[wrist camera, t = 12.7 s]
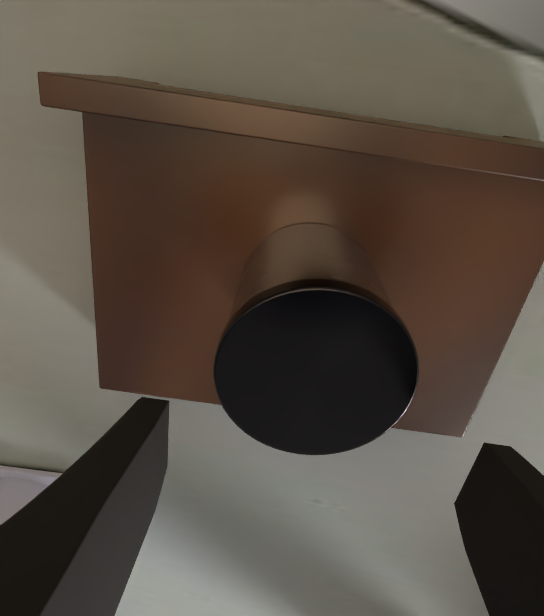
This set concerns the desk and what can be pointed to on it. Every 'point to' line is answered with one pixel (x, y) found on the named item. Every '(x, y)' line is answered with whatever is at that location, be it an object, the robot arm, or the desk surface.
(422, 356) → the wooden display base
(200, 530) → the desk surface
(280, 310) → the spice tin
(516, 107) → the desk surface
